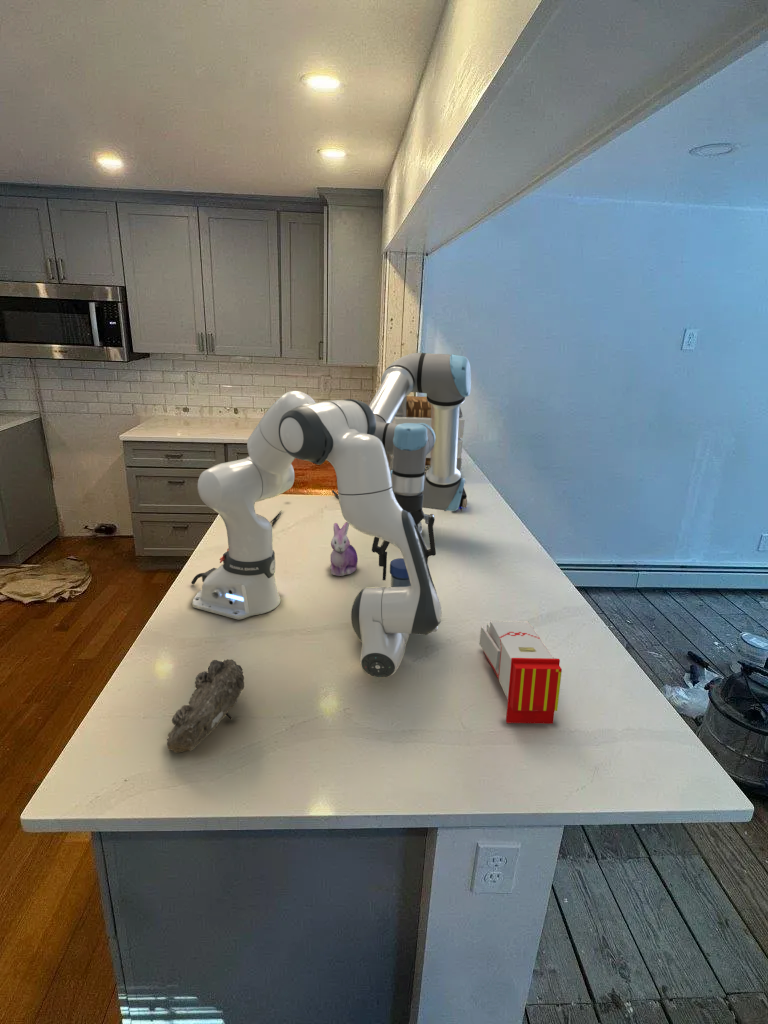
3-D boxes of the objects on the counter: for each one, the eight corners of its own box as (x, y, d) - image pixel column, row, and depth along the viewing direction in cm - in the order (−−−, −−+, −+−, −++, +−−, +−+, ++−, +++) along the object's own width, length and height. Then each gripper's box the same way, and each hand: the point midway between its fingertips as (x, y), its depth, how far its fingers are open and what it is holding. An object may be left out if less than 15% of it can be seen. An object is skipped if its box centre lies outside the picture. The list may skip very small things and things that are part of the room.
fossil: (192, 660, 117) (244, 628, 112) (224, 691, 120) (276, 661, 115) (142, 746, 98) (202, 712, 93) (182, 779, 101) (242, 748, 96)
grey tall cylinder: (385, 625, 142) (388, 569, 137) (393, 614, 147) (396, 560, 142) (406, 630, 140) (409, 573, 135) (413, 619, 145) (417, 564, 140)
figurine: (335, 579, 164) (336, 531, 159) (322, 565, 172) (322, 519, 167) (364, 574, 168) (366, 527, 163) (350, 560, 177) (351, 515, 172)
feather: (288, 505, 226) (290, 501, 226) (271, 529, 199) (273, 524, 199) (284, 503, 226) (287, 499, 225) (266, 526, 199) (269, 522, 199)
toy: (526, 605, 135) (570, 665, 105) (521, 658, 137) (563, 730, 108) (475, 604, 134) (506, 664, 105) (472, 657, 137) (500, 729, 108)
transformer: (382, 463, 289) (386, 382, 275) (445, 464, 293) (451, 384, 279) (390, 482, 257) (394, 392, 243) (460, 483, 261) (468, 394, 247)
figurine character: (467, 516, 223) (461, 500, 237) (469, 499, 220) (463, 483, 233) (450, 516, 223) (446, 499, 236) (452, 498, 220) (447, 483, 233)
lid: (390, 566, 142) (391, 557, 141) (415, 568, 142) (416, 559, 141) (388, 577, 136) (389, 568, 135) (414, 579, 136) (415, 570, 135)
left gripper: (437, 621, 127) (443, 592, 140) (349, 608, 130) (362, 582, 143) (435, 645, 129) (441, 615, 142) (348, 632, 132) (361, 604, 145)
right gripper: (451, 488, 135) (443, 574, 143) (363, 483, 136) (361, 569, 143) (453, 498, 128) (445, 588, 136) (361, 493, 129) (358, 583, 136)
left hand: (401, 598), depth 142 cm, fingers closed on grey tall cylinder, 5 cm apart
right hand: (402, 578), depth 139 cm, fingers open, 8 cm apart
